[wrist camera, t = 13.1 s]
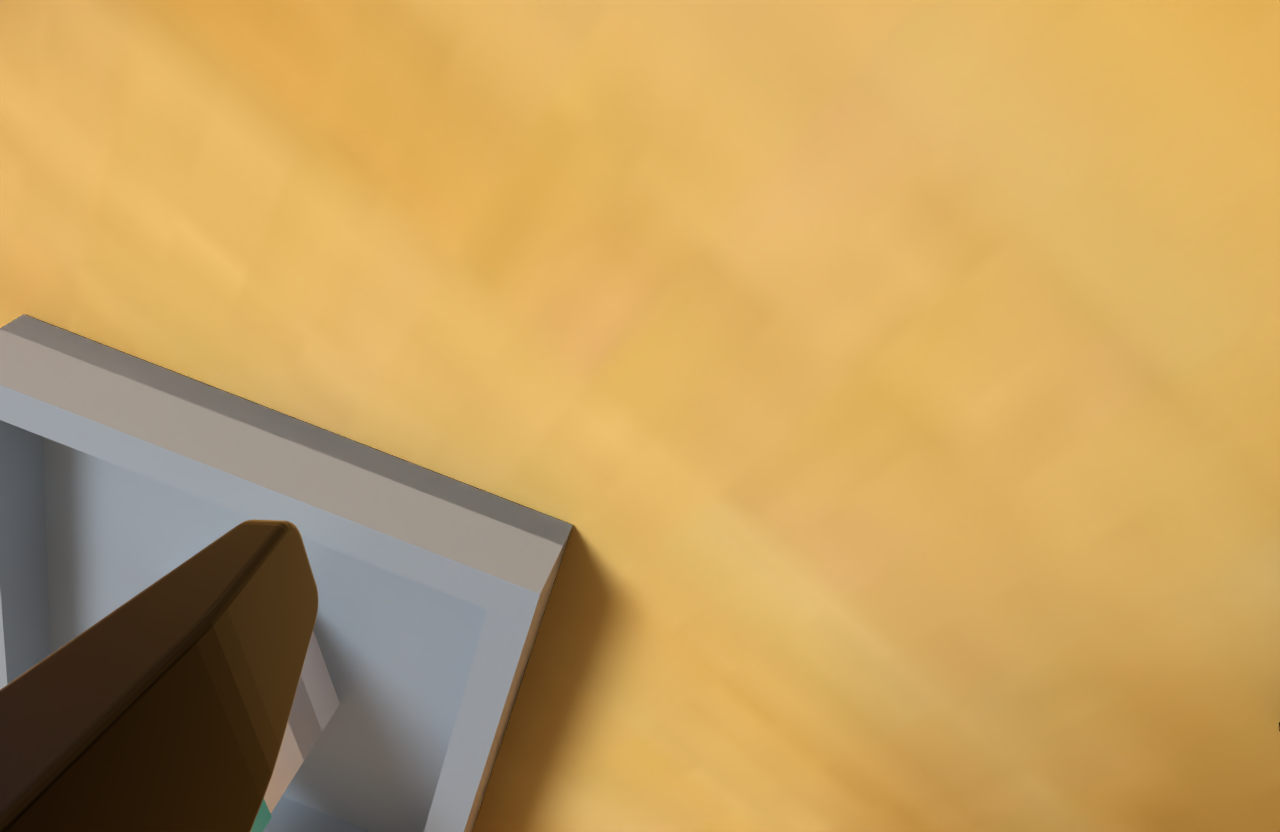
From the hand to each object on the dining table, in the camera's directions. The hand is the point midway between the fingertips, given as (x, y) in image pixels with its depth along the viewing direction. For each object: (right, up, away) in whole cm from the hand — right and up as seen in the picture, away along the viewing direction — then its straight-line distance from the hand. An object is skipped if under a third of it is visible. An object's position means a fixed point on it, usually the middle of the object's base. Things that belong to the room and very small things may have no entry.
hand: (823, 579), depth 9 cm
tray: (-12, -4, +20) cm, 24 cm away
